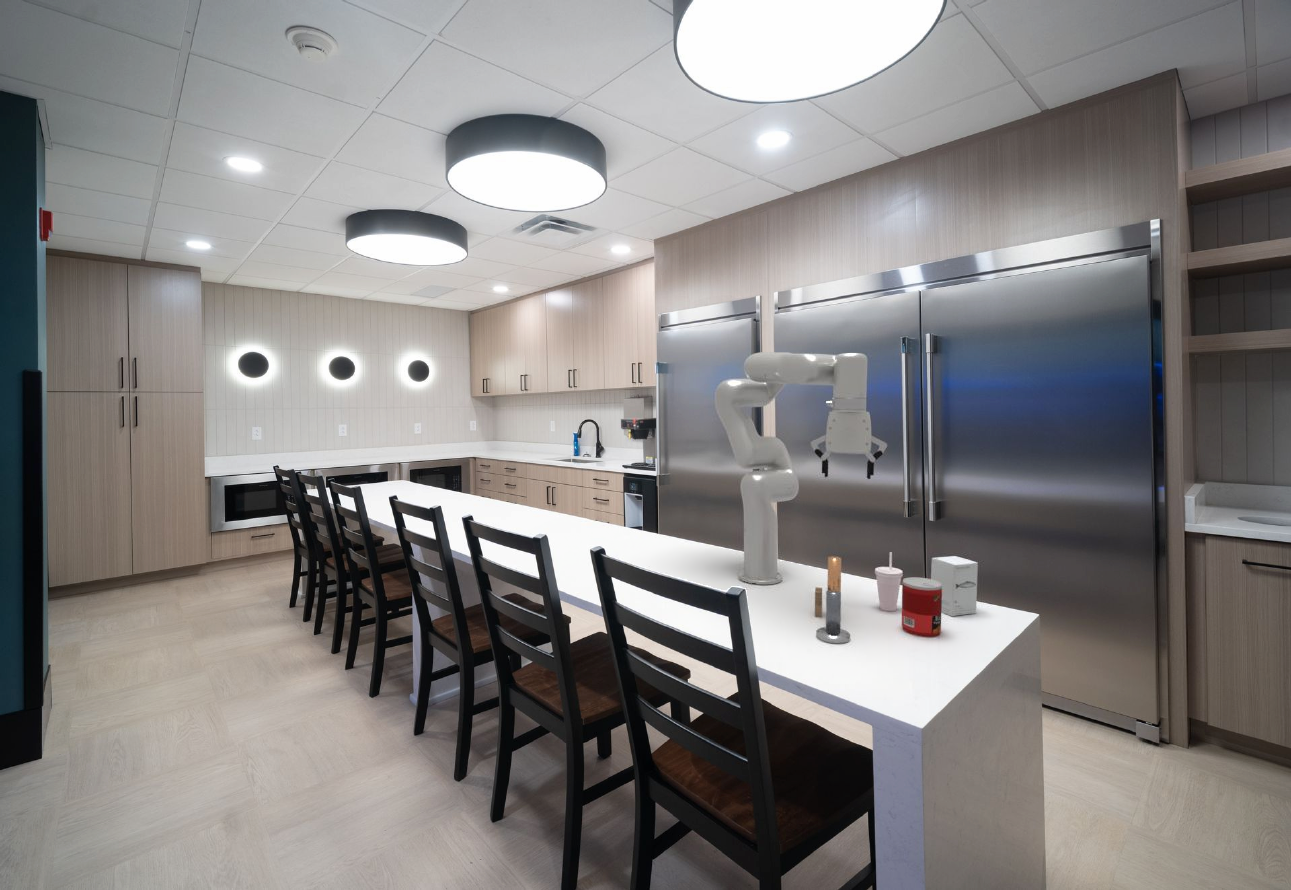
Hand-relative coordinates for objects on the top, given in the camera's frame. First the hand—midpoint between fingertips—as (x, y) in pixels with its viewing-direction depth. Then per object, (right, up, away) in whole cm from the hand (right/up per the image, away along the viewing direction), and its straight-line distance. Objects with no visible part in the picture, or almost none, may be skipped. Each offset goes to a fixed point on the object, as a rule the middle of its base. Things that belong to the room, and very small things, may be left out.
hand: (847, 477), depth 142 cm
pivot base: (-8, -34, -14) cm, 37 cm away
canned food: (+13, -34, -10) cm, 37 cm away
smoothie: (+12, -33, +4) cm, 35 cm away
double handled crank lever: (-6, -32, -7) cm, 33 cm away
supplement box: (+27, -33, +3) cm, 42 cm away
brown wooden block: (-7, -33, +1) cm, 34 cm away
